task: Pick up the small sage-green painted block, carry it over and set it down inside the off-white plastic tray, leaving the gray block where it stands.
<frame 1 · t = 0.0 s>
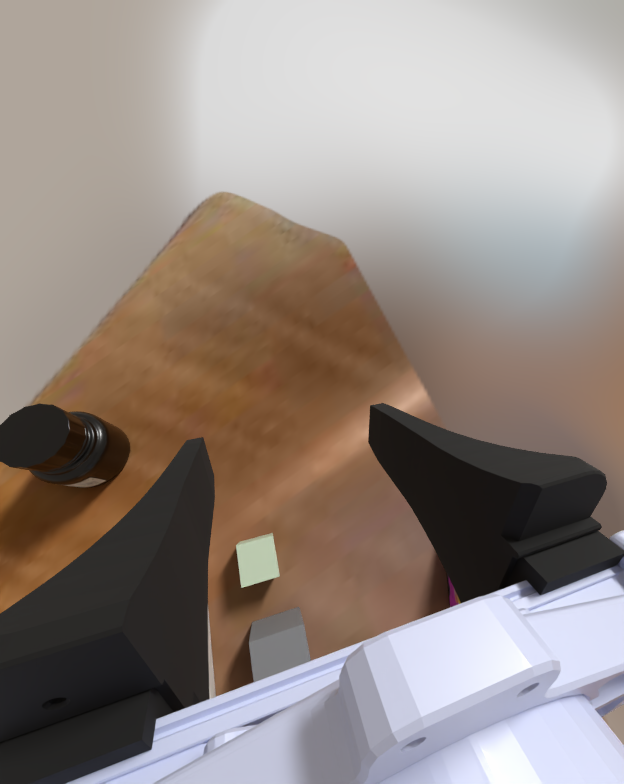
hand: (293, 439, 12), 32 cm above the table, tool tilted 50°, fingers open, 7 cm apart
tray: (156, 643, 33), on the table
ink bottle: (98, 455, 40), on the table
gray block: (280, 642, 35), on the table
sage block: (259, 555, 38), on the table
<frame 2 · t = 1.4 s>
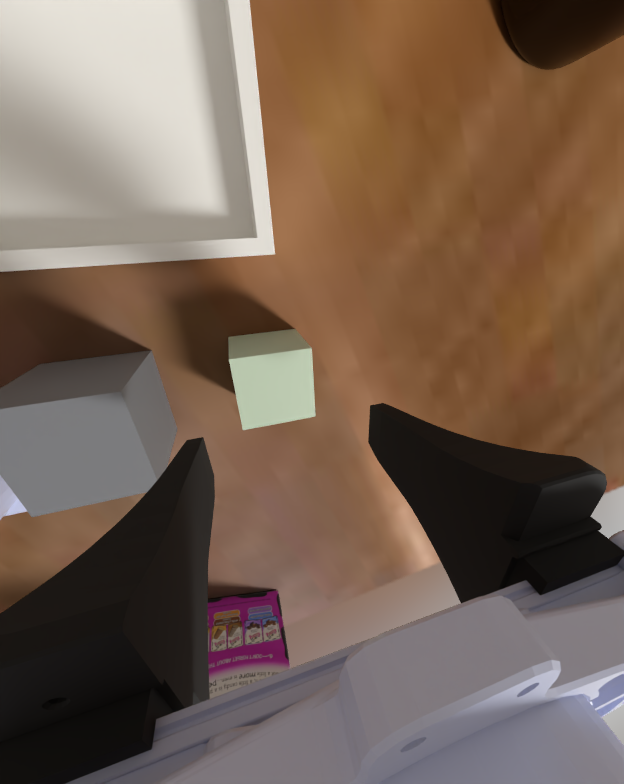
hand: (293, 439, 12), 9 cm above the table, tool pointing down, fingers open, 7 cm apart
tray: (98, 115, 13), on the table
gray block: (116, 399, 19), on the table
candy bar box: (226, 606, 32), on the table
sage block: (266, 363, 20), on the table
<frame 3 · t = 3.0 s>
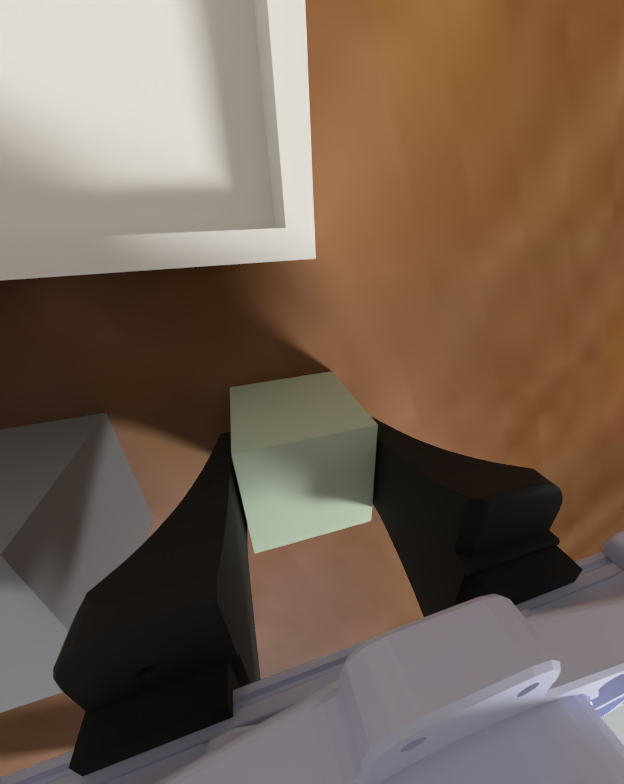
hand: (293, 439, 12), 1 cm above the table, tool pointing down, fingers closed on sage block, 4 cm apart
gray block: (54, 485, 12), on the table
sage block: (287, 422, 13), on the table, touching gripper
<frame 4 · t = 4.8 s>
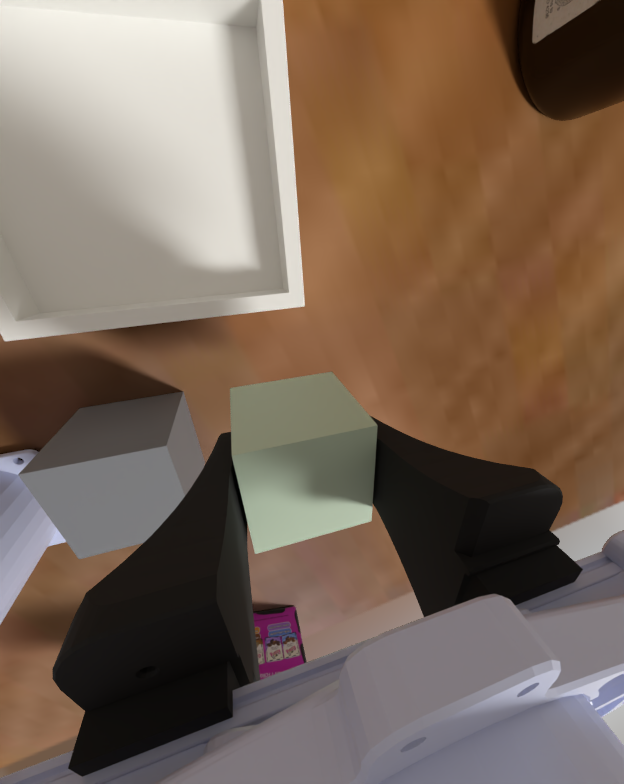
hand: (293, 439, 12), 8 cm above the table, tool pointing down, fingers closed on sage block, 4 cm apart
tray: (141, 185, 14), on the table
ink bottle: (578, 16, 15), on the table
gray block: (148, 437, 19), on the table
candy bar box: (245, 622, 32), on the table
sage block: (287, 422, 13), point 7 cm above the table, touching gripper
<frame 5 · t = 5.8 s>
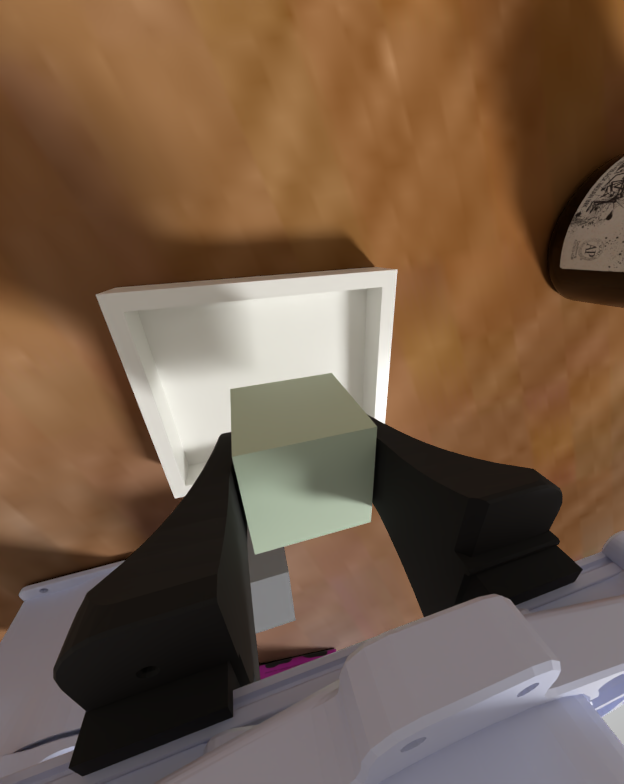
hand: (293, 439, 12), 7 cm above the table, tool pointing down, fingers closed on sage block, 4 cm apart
tray: (271, 376, 18), on the table
ink bottle: (592, 234, 20), on the table
gray block: (243, 533, 24), on the table
candy bar box: (292, 663, 37), on the table
sage block: (287, 423, 13), point 6 cm above the table, touching gripper
when the fingers open (4 cm above the table, at t = 6.7 s): sage block drops 2 cm, resting on tray.
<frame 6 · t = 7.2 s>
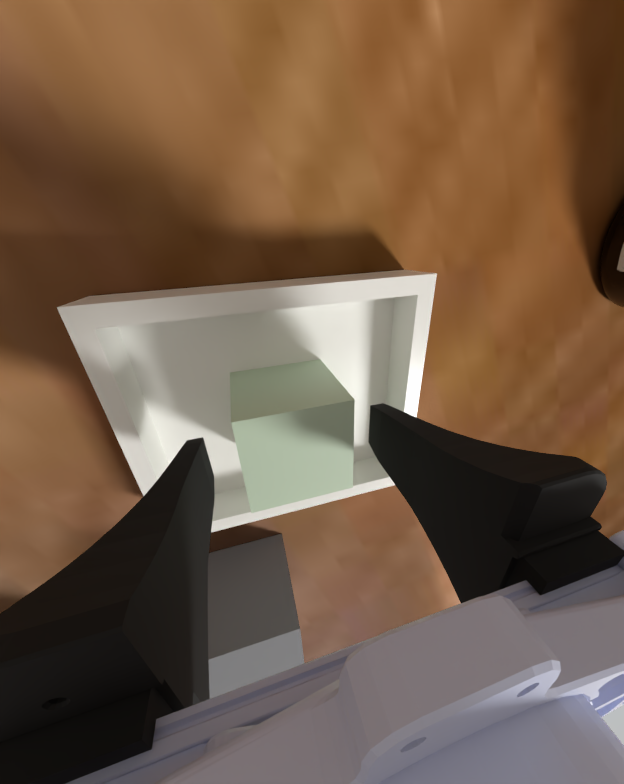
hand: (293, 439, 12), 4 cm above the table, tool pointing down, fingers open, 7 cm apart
tray: (279, 398, 15), on the table
gray block: (245, 569, 21), on the table
sage block: (281, 404, 15), point 1 cm above the table, touching tray
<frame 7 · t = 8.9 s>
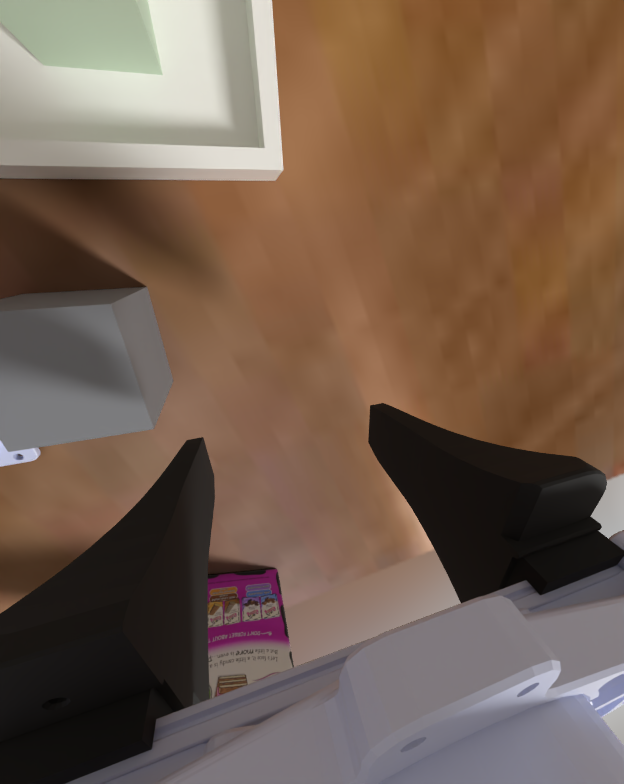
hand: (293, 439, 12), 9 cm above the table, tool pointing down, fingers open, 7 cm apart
gray block: (107, 342, 17), on the table
candy bar box: (223, 585, 30), on the table
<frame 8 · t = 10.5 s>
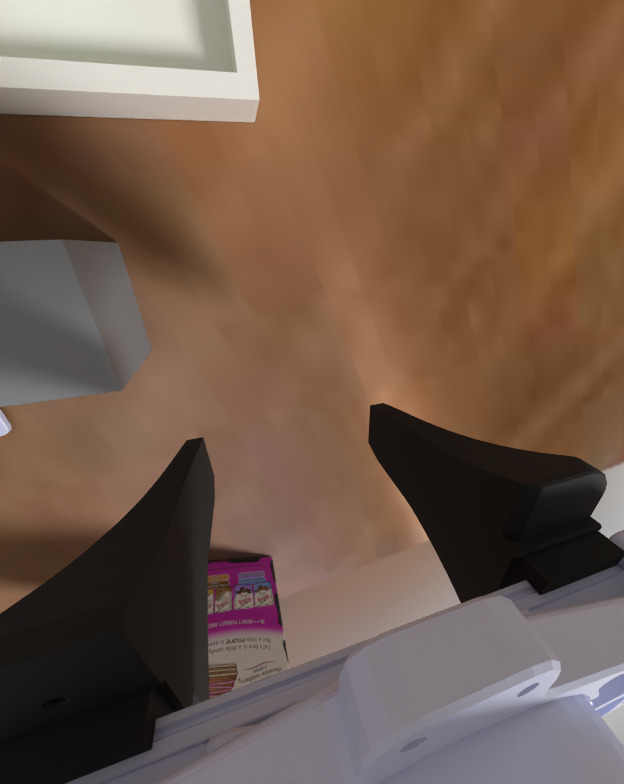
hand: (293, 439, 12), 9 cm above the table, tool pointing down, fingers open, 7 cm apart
gray block: (78, 305, 16), on the table
candy bar box: (215, 573, 29), on the table
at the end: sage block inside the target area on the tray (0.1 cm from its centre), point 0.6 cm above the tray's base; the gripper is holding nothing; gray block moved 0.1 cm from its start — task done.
